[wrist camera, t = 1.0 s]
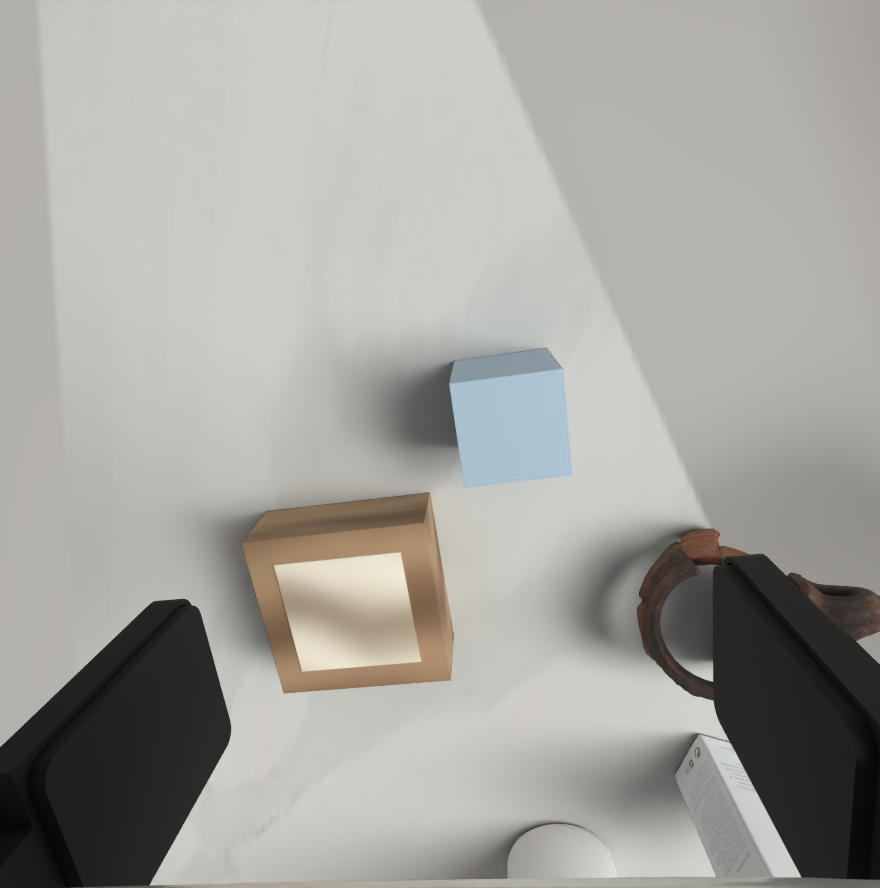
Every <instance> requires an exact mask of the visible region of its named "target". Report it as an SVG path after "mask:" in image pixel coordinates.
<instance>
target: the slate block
mask: <svg viewBox="0 0 880 888" xmlns="http://www.w3.org/2000/svg"><path fill="white" fill-rule="evenodd" d="M449 386H450V393H451V400H452V406H453V413H454V420H455V427H456V434H457V441H458V447H459V454H460V461H461V468H462V475H463V482H464V487H473V486H482V485H490V484H499V483H508V482H517V481H525V480H534V479H543V478H552V477H560V476H569V475H572V471H571V459H570V447H569V435H568V423H567V411H566V399H565V388H564V376H563V368H562V367H561V366H560V364H559V363H558V362H557V360H556V359H555V358H554V357H553V355H552V354H551V353H550V351H549V350H548V349H547V348H543V349H536V350H529V351H522V352H514V353H507V354H500V355H492V356H485V357H478V358H471V359H463V360H456V361H454V364H453V369H452V373H451V378H450V383H449Z"/></svg>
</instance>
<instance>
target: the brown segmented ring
mask: <svg viewBox="0 0 880 888" xmlns="http://www.w3.org/2000/svg"><path fill="white" fill-rule="evenodd" d="M719 535H720V533H719V532H718V531H716V530H715V529H701V530H695V531H691V532H688V533H687V534H686V535H684V536H682V542H674V543H672V544H671V545H670V546H669V547H668V548H667V549H666V550H665V551H664V552H663V553H662V554H661V555H660V557H659V558H658V559H657V560H656V562H655V563H654V564H653V566H652V567H651V568H650V570H649V572H648V573H647V575H646V577H645V579H644V581H643V583H642V586H641V588H640V591H639V596H640V598H641V599H642V602H641V603H640V604H639V605H638V607H637V615H638V623H639V628H640V632H641V637H642V642H643V647H644V650H645V652H646V654H647V655H649V656H650V657H651V658H652V659H653V660H655V661H656V663H657V664H658V665H659V666H660V667H662V669H663V671H664V672H665V673H666V674H667V675H668V676H669V677H670V678H671V679H673V680H674V682H675V683H676V684H677V685H679V686H681V687H682V688H683V689H684V690H685V691H687V692H689V693H690V694H692V695H694V696H697V697H703V698H706V699H710V700H714V698H713V682H711V681H708V680H705V679H702V678H700V677H698V676H696V675H694V674H692V673H690V672H689V671H687V670H686V669H685V668H683V667H682V666H681V665H680V664H679V663H678V662H676V661H675V660H674V658H673V657H672V655H671V654H670V652H669V651H668V649H667V647H666V645H665V643H664V640H663V638H662V634H661V628H660V615H661V611H662V607H663V605H664V602H665V600H666V598H667V597H668V595H669V594H670V592H671V591H672V590H673V589H674V588H675V587H676V586H677V585H678V584H680V583H681V582H683V581H684V580H686V579H688V578H690V577H692V576H695V575H698V574H700V573H701V572H700V570H699V569H698V568H697V566H698V565H708V564H714V565H720V566H722V565H723V562H724V559H725V558H726V557H727V556H740V555H749V554H747V553H745V552H742V551H740V550H736V549H733V548H730V547H726V546H719V543H718V537H719ZM787 577H788V578H789V579H790V580H791V581H792V582H793V583H794V584H795V585H796V586H797V587H798V588H799V589H800V590H801V591H802V592H803V593H804V594H805V595H806V596H807V597H808V598H809V599H810V600H811V601H812V602H813V603H814V604H815V605H816V606H817V607H818V608H819V609H820V610H821V611H822V612H823V613H824V614H825V615H826V616H827V617H829V618H830V619H831V620H832V621H833V622H834V623H835V624H836V625H837V626H838V627H839V628H840V629H841V630H842V631H844V632H845V633H847V634H848V635H849V636H851V637H852V638H853V639H854V640H855V641H857V640H859V639H861V638H864V637H866V636H870V635H872V634H875V633H877V632H880V596H878V595H877V594H875V593H874V592H872V591H870V590H868V589H864V588H860V587H850V586H834V585H821V584H816V583H813V582H810V581H808V580H806V579H805V578H803V577H802V576H801V575H799V574H796V573H790V574H788V575H787Z"/></svg>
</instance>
